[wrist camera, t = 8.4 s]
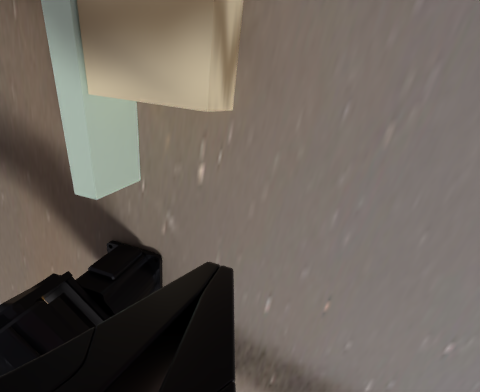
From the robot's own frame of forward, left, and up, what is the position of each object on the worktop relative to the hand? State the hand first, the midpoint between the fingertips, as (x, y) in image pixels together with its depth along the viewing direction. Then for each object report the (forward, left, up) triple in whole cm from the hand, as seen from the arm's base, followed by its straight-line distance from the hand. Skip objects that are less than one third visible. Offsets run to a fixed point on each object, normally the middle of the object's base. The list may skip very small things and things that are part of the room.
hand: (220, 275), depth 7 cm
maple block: (+8, +8, -12) cm, 17 cm away
